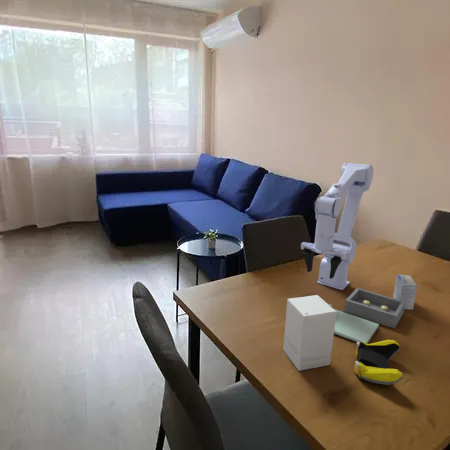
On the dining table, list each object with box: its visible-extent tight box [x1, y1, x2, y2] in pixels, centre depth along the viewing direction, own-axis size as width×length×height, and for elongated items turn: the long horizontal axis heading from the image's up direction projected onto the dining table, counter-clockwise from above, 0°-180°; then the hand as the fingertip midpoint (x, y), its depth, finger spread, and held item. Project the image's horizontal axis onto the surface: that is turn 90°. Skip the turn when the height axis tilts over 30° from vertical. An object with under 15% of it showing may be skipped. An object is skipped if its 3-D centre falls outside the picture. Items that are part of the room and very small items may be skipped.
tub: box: [343, 287, 405, 329], centre depth 114 cm, size 15×11×4 cm
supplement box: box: [283, 294, 337, 372], centre depth 91 cm, size 9×9×15 cm
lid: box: [327, 303, 380, 344], centre depth 106 cm, size 16×12×5 cm
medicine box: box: [392, 274, 418, 311], centre depth 120 cm, size 8×4×9 cm, turn 168°
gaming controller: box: [353, 339, 403, 386], centre depth 88 cm, size 15×6×10 cm
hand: (320, 274), depth 119 cm, fingers open, 7 cm apart
